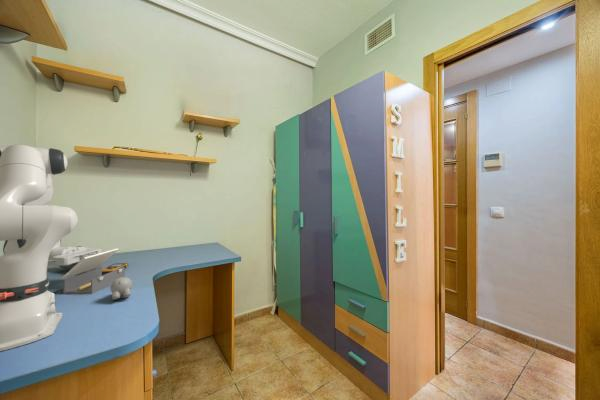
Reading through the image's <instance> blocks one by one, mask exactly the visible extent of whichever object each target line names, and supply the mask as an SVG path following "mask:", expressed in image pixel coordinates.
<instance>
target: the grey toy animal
mask: <svg viewBox="0 0 600 400" xmlns="http://www.w3.org/2000/svg"><path fill="white" fill-rule="evenodd" d="M109 287H110V292H111V293H112V296H111V300H113V301H117V299H118V300H120V298H121V299H127V298H129V297H130V296H131V295H132V292H131V289H132V287H133V281H132V280H131V278H129V277H126V276H124V277H120V278H118V279H116V280H115V281H113V283H112V284H111V285H110V286H109Z"/></svg>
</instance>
